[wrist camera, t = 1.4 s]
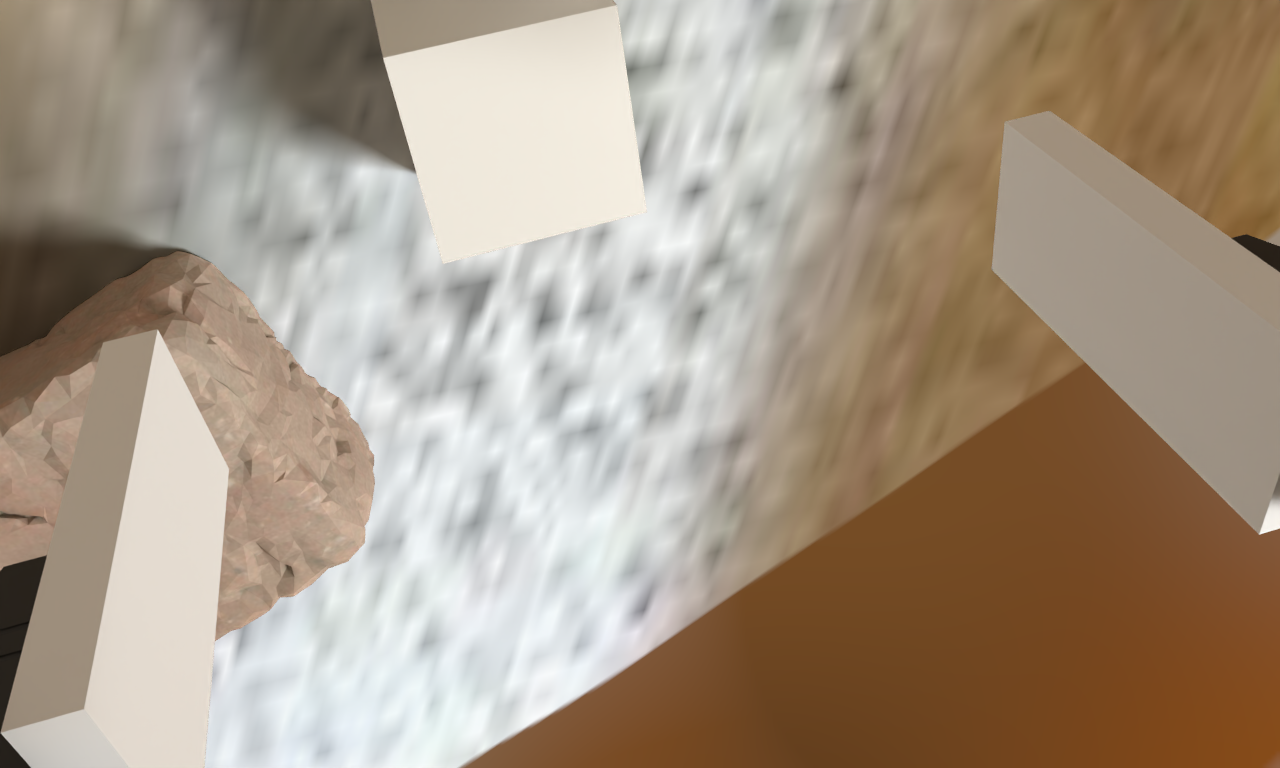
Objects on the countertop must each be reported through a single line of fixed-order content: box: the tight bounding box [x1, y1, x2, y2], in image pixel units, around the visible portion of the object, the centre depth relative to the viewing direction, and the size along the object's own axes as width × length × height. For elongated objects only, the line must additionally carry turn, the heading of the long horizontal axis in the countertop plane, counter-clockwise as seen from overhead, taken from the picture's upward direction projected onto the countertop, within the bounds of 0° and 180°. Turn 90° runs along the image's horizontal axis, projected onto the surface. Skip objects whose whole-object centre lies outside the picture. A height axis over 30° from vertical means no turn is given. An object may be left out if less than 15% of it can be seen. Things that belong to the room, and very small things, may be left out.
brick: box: [0, 251, 375, 641], centre depth 27 cm, size 16×8×5 cm, turn 117°
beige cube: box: [371, 0, 647, 264], centre depth 23 cm, size 4×4×4 cm
